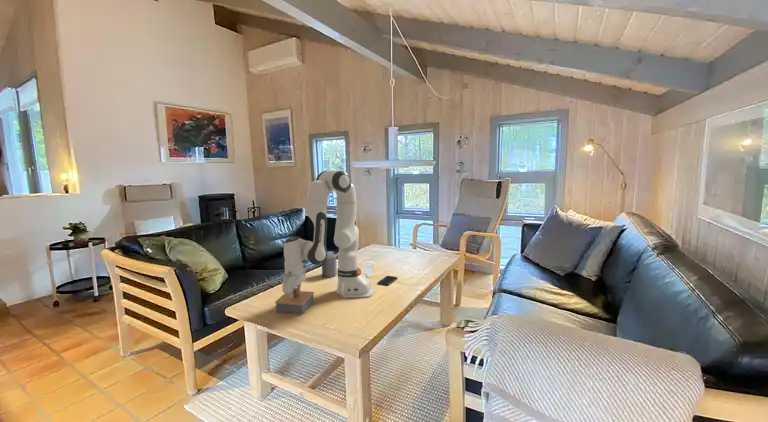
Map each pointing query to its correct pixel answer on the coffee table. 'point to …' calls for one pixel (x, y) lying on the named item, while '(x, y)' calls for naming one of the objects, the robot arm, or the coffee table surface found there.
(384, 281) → the phone
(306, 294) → the lid
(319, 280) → the coffee table surface
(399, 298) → the coffee table surface
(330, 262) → the pillar candle
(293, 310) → the storage box
